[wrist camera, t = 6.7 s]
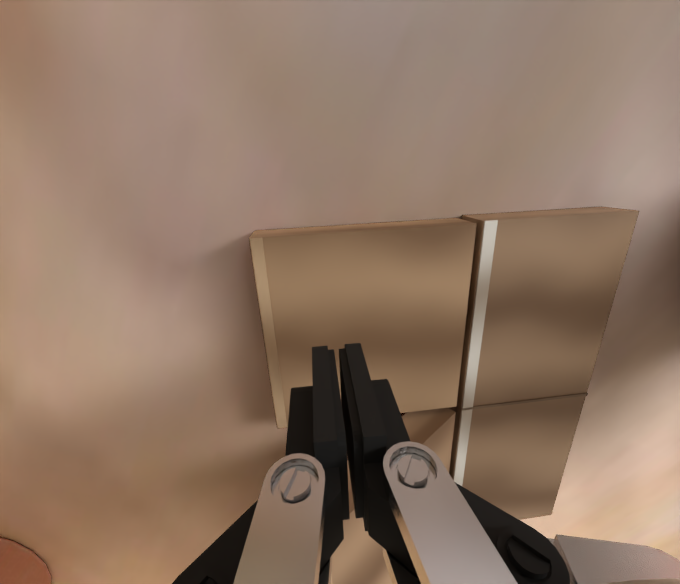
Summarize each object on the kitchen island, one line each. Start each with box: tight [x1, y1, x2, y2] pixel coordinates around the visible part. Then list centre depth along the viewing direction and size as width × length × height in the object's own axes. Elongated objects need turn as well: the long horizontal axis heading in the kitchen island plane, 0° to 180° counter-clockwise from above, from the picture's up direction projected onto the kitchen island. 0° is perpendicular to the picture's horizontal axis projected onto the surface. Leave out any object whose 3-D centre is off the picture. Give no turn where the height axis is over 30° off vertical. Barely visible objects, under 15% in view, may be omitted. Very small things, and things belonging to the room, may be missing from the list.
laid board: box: [448, 207, 639, 520], centre depth 19 cm, size 21×8×2 cm, turn 3°
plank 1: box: [249, 218, 477, 429], centre depth 16 cm, size 10×10×2 cm
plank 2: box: [331, 408, 456, 584], centre depth 17 cm, size 10×10×2 cm
